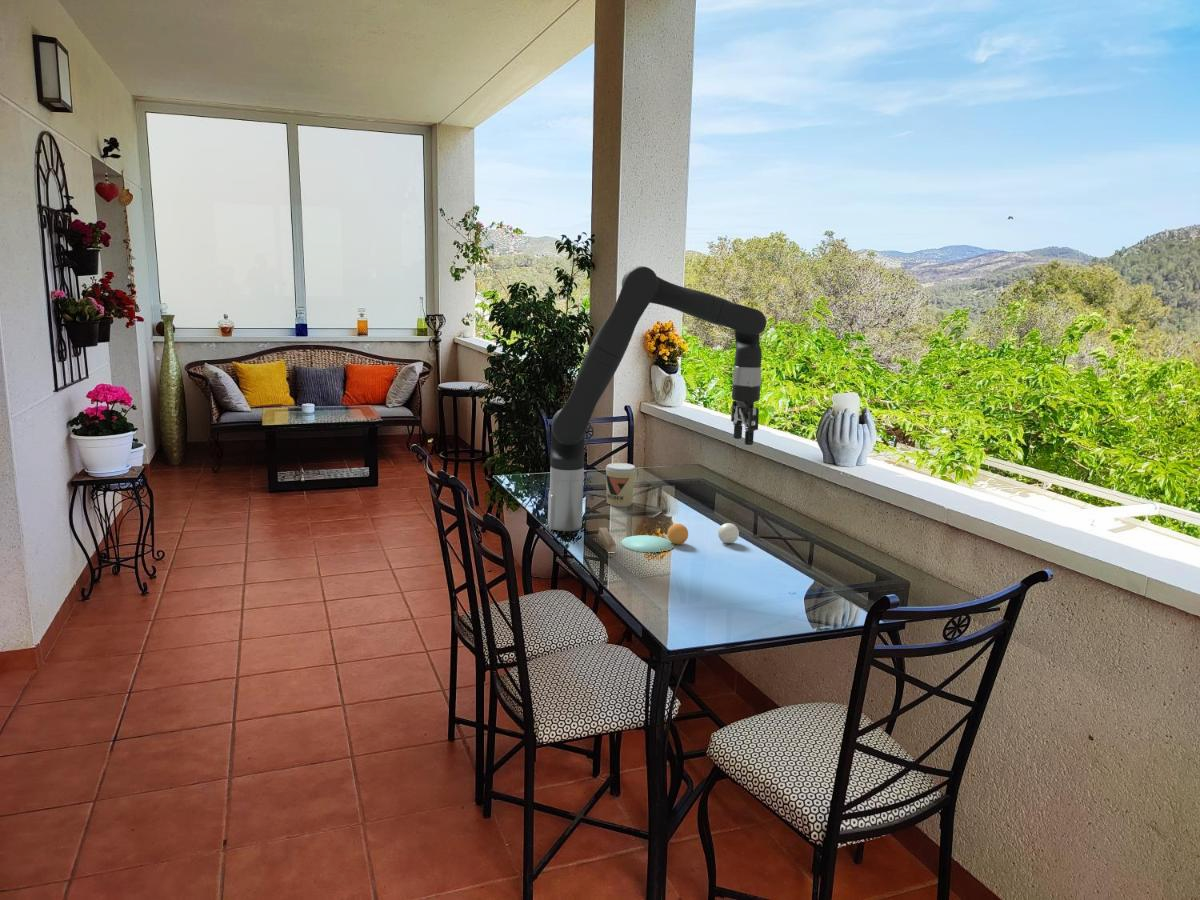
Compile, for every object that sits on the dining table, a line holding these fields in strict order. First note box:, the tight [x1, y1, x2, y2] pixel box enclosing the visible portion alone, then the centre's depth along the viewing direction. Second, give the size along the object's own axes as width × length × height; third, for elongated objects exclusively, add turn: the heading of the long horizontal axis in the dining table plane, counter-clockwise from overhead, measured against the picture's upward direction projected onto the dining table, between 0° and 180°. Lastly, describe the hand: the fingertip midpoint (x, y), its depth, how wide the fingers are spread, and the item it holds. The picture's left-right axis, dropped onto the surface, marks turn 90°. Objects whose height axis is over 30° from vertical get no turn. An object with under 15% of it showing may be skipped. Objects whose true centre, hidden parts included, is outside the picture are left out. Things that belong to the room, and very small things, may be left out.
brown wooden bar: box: [598, 527, 617, 553], centre depth 206 cm, size 2×14×2 cm, turn 10°
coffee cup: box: [605, 462, 637, 508], centre depth 245 cm, size 9×9×12 cm
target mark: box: [620, 534, 675, 554], centre depth 208 cm, size 14×14×1 cm
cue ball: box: [717, 522, 740, 544], centre depth 211 cm, size 6×6×6 cm
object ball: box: [667, 523, 689, 545], centre depth 209 cm, size 6×6×6 cm
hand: (743, 441), depth 218 cm, fingers open, 8 cm apart
